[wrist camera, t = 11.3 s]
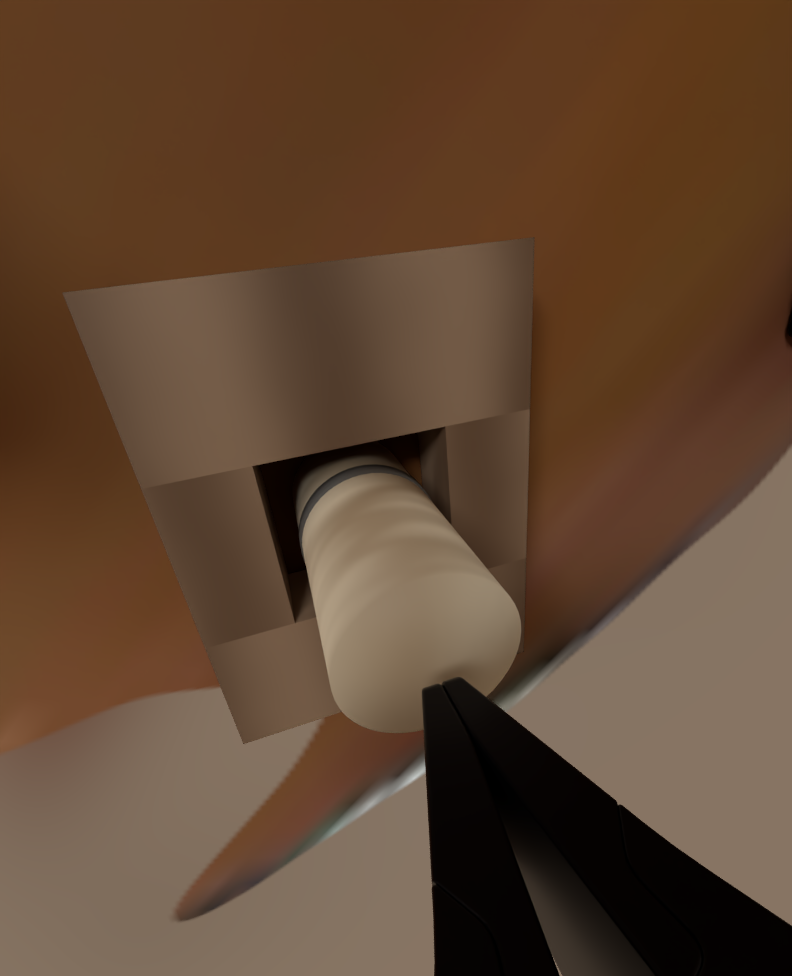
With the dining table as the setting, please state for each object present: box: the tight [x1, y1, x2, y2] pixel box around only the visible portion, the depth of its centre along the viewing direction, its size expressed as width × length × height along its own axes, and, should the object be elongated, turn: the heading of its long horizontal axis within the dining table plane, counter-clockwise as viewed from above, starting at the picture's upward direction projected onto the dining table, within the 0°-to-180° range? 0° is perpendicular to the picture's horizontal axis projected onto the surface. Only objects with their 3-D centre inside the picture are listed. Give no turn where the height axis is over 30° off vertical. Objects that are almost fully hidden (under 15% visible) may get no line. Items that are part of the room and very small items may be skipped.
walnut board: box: [63, 237, 534, 744], centre depth 16 cm, size 12×16×3 cm
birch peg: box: [292, 441, 521, 733], centre depth 14 cm, size 4×4×9 cm
